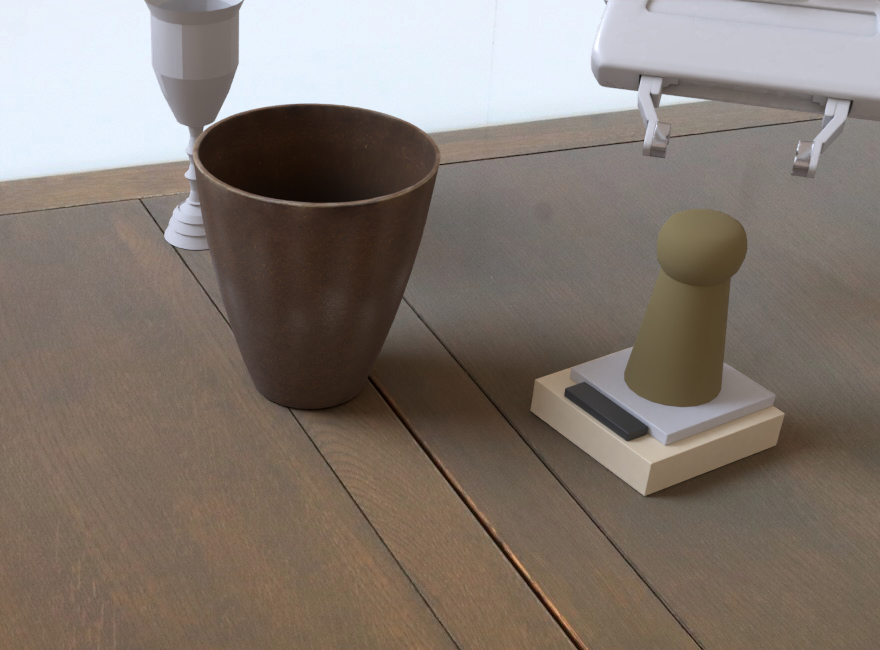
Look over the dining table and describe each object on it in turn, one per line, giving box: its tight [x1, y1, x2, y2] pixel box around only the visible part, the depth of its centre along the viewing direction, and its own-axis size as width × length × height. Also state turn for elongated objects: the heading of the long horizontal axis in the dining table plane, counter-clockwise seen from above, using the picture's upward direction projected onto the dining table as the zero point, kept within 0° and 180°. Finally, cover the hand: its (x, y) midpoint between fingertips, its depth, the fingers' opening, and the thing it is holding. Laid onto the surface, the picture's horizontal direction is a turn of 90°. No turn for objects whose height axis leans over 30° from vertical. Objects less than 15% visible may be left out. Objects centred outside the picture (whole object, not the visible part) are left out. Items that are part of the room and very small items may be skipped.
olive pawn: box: [624, 208, 748, 407], centre depth 95 cm, size 6×6×11 cm
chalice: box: [143, 0, 245, 251], centre depth 115 cm, size 7×7×18 cm
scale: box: [530, 346, 786, 497], centre depth 100 cm, size 11×11×3 cm
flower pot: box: [192, 102, 441, 410], centre depth 100 cm, size 15×15×16 cm
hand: (727, 163), depth 101 cm, fingers open, 8 cm apart
